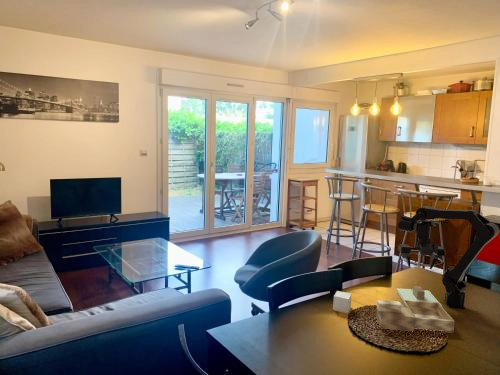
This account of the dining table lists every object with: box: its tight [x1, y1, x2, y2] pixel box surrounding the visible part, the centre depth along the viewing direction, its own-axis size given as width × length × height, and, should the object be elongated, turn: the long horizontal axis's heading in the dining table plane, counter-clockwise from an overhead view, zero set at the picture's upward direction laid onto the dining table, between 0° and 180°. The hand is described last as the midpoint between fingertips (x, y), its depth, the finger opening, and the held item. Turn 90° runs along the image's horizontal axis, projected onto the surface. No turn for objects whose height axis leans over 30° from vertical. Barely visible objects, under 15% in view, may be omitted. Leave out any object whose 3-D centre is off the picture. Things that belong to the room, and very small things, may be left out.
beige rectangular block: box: [376, 299, 402, 313], centre depth 140 cm, size 8×3×3 cm, turn 83°
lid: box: [396, 285, 443, 307], centre depth 164 cm, size 14×16×6 cm
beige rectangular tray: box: [375, 299, 456, 334], centre depth 144 cm, size 26×18×6 cm
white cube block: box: [332, 290, 352, 314], centre depth 153 cm, size 6×6×6 cm
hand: (419, 268), depth 169 cm, fingers open, 9 cm apart
